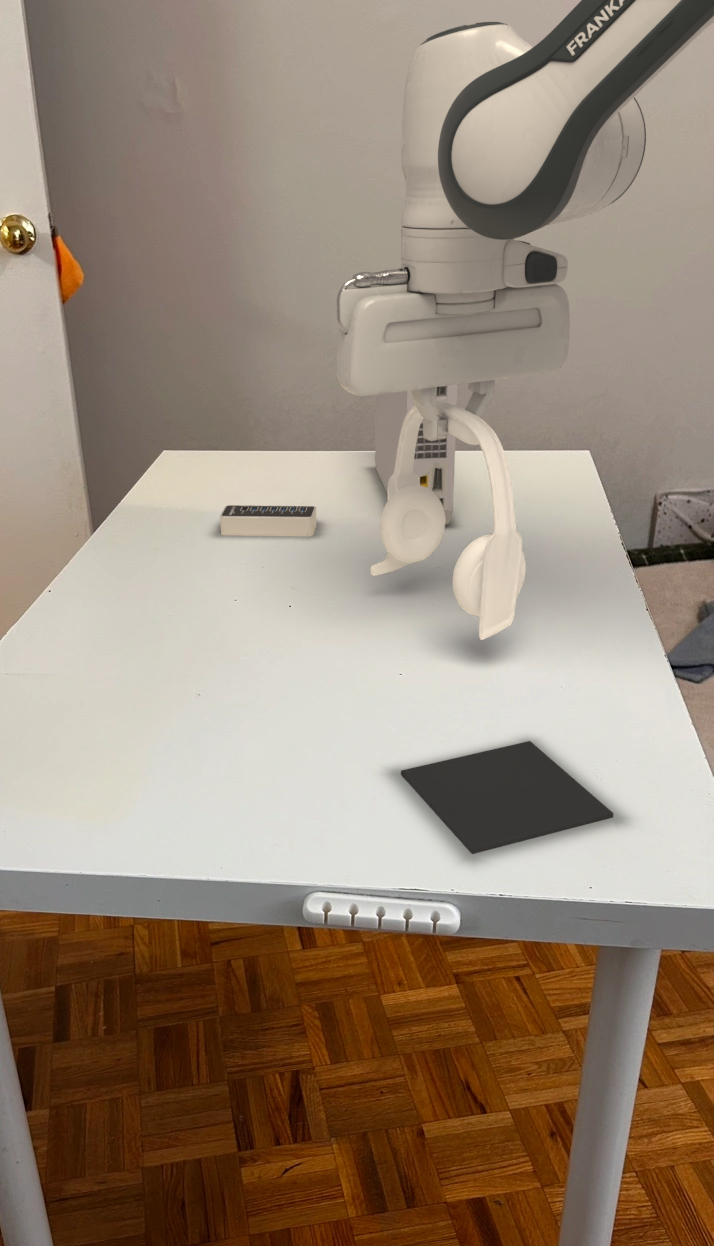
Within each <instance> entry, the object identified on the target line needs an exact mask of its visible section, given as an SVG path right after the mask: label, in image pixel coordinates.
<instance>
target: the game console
mask: <svg viewBox="0 0 714 1246" xmlns="http://www.w3.org/2000/svg"><path fill="white" fill-rule="evenodd" d="M374 400H375V401H374V402H375V404H374V405H375V408H374V409H375V414H374V416H375V417H374V418H375V419H374V420H375V423H374V424H375V425H374V427H375V428H374V429H375V433H374V435H375V439H374V440H375V441H374V442H375V444H374V449H375V450H374V469H375V470H376V473H377V474H378V477H379V479H380V481H381V484H382V485H383V489H384V490H385V493H387V490H388V482H389V479H390V477H391V476H392V475H393V473H394V469H395V462H396V455H397V449H398V443H399V437H400V433H401V429H402V425H403V422H404V419H405V417H406V415H407V413H408V411H409V410H410V409H411V408H412V407H413V406H415V404H414V402H413V400H412V398H411V390H409V391H401V392H393V393H385V394H377V395H375V399H374ZM436 400H437V401H441V402H445V403H449V404H452V405H455V406H457V407H458V385H449V386H441V387H437V399H436ZM456 439H457V437H455V436H453V435H451V434H449V433H447V438H446V439H440V440H435V441H429V440H427V439H425V438H424V436H423V420H422V422H421V424H420V428H419V432H418V436H417V441H416V448H415V455H414V467H413V469H414V472H415V473H416V474H417V475H418V477H419V480H420V486H424V487H426V488H428V489H430V490H431V491H433V492H434V493H435V494H436V495H437V497H438V498H439V500H440V501H441V503H442V505H443V508H444V512H445V526H447V525H450V521H451V518H452V515H453V512H454V488H455V487H454V486H455V464H456V463H455V461H456Z"/></svg>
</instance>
